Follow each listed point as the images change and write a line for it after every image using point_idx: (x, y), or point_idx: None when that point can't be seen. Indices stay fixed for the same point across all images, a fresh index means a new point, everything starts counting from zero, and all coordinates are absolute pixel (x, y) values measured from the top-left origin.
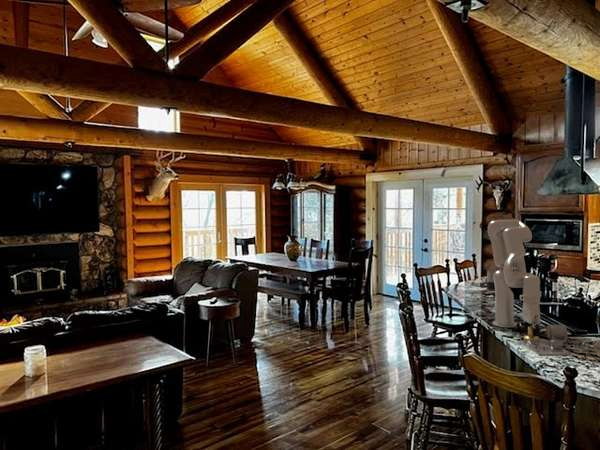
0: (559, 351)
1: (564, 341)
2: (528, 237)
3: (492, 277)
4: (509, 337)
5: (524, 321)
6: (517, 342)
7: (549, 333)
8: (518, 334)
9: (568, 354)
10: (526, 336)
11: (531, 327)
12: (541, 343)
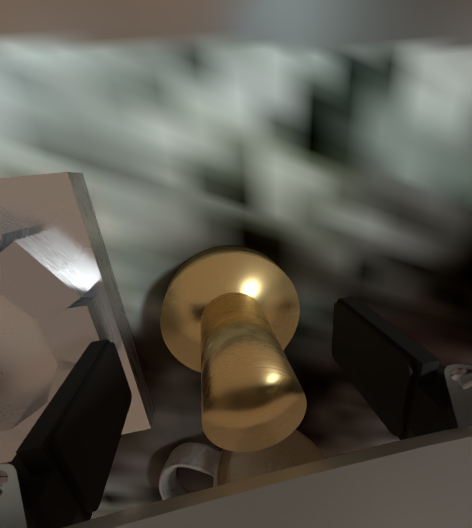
0: None
1: (169, 491)
2: None
3: None
4: (303, 113)
5: (462, 398)
6: (114, 140)
7: (232, 478)
8: (388, 243)
9: None
10: (241, 279)
11: (232, 412)
12: (31, 356)
